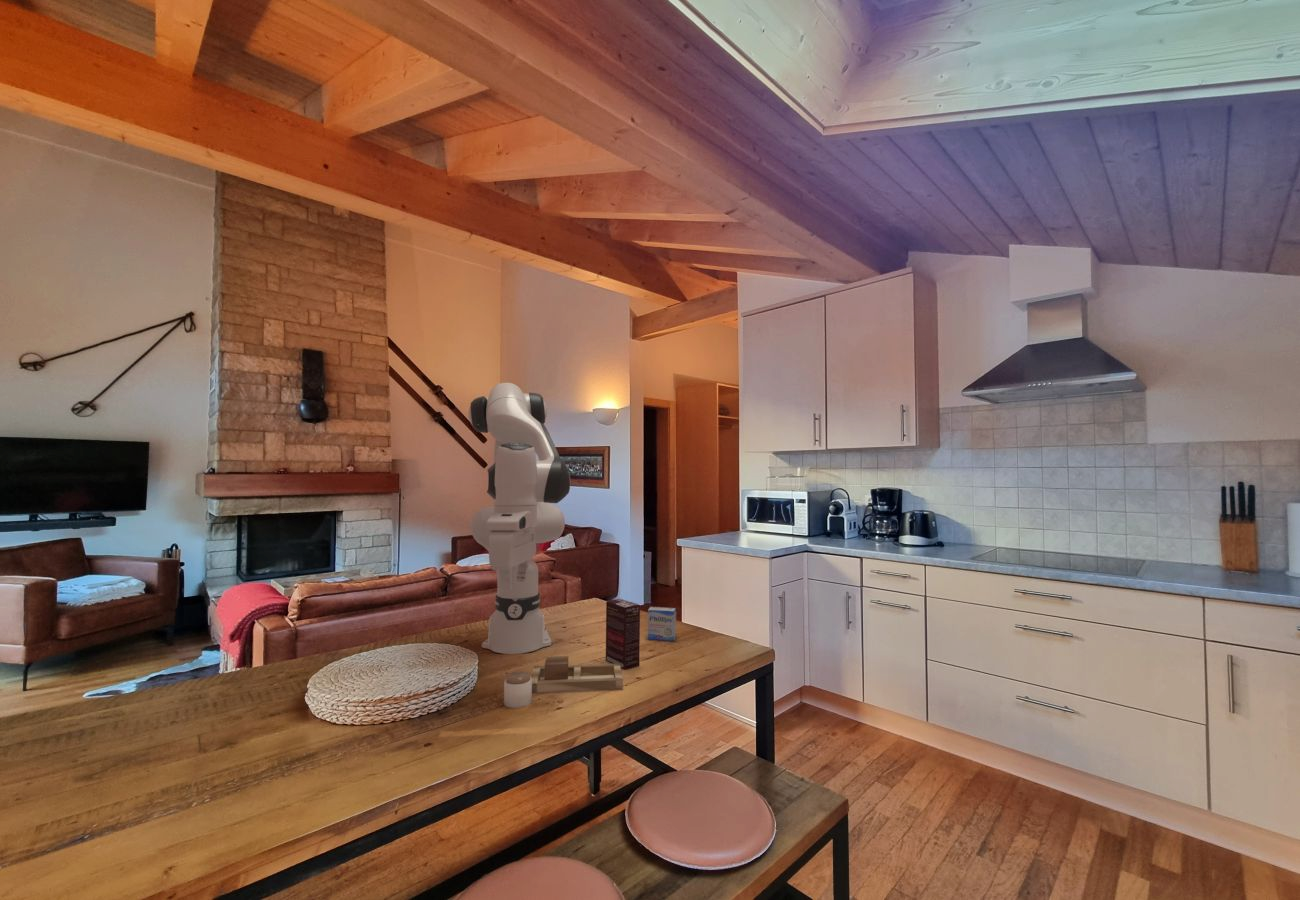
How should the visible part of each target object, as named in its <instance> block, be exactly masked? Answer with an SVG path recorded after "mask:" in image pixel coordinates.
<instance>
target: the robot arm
mask: <svg viewBox="0 0 1300 900" xmlns="http://www.w3.org/2000/svg"><path fill="white" fill-rule="evenodd" d="M547 415H548V407H547V403H546V402H545V400H544V397H543V396H542V395H541V394H540V393H536V392H529V393H523V390H522V389H521V388H520V387H519V386H518V385H517V384H514V383H512V382H500V383H498V384H496V385H495V386H493V388H492V389H491V390H490V392H489V395H488V396H484V395H483V396H479V397H477V398H474V399H473V400H472V401H471V402H470V405H469V409H468V420H469V422H470V424H471V426H472V428H473V429H474V430H475V431H476V432H478V433H483V434H488V433H489V434H490V435H491V436H492V438H493V439H495V441H494V442H495V443H494V451H493V464H492V465H491V466H490V467H489V468H487V470H486V471H487V490H486V493H487V494H488V495H489V496H490V498H492V499H494V505H491V506H486V507H481V508H478V510H477V511H476V512H475V513H474V514H473V516H472V518H471V521H470V532H471V535H472V537H473V539H474V540H475V541H476V542H477V543H478V544H479V545H481V546H482V547H483V548H485V550H487V552H488V559H489V560H488V561H489V566H490V568H491V571H492V570H493V571H496V583H497V584H496V585H497V594H496V595H495V601H494V605H495V611H494V612H493V613H491V615H490V616H489V621H488V634H487V635H488V637H487V639H485V640H484V641H483V642H482V643H481V648H483V649H488V650H490V651H491V652H495V653H499V654H502V655H503V654H506V655H507V654H508V655H514V654H515V655H516V654H517V655H518V654H525V653H530V652H534V651H537V650H539V649H541V648H545V647H550V646H552V639H551V637H550V635H549V633H548V630H547V627H546V625H545V615H544V614H543V612H542V610H540V605H541V604H540V603H541V596H540V592H539V567H538V564H537V563H536V562H535V561H534V559H533V558H535V556H536V554H537V544H544V543H548V542H552V541H556V540H558V539H559V538H560V537H561V536H562V535H563V532H564V529H565V527H566V521H565V516H564V514H563V512H562V510H561V509H560V508H559V507H558V506H556V505H555V504H558V503H559V502H561V501H562V500H563V499H565V497H566V496H567V495H569V493H570V489H571V476H570V475H571V474H570V472H569V467H567V465H566V463H564V461H563V459H562V458H561V457H560V454H559V452H558V450H557V448H556V445H555V443H554V441H553V439H552V437H551V435H550V432H549V430H548V429H547V427H546V425H545V423H546V420H547V417H548V416H547ZM536 455H537V456H536ZM537 458H538V460H537Z"/></svg>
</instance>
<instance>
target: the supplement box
mask: <svg viewBox="0 0 1300 900" xmlns="http://www.w3.org/2000/svg"><path fill="white" fill-rule="evenodd" d="M605 604H606V605H605V606H606V607H605V608H606V609H605V610H606V611H605V615H606V616H605V661H606V662H607V663H609V664H616V663H620V667H621V670H624V671H626V670H630V669H633V668H638V667H640V644H641V643H640V639H641V638H640V633H641V632H640V631H641V629H640V627H641V605H640V604H638V603H635V602H632V601H629V600H626V599H622V598H615V599H609V600H606V603H605Z"/></svg>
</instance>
